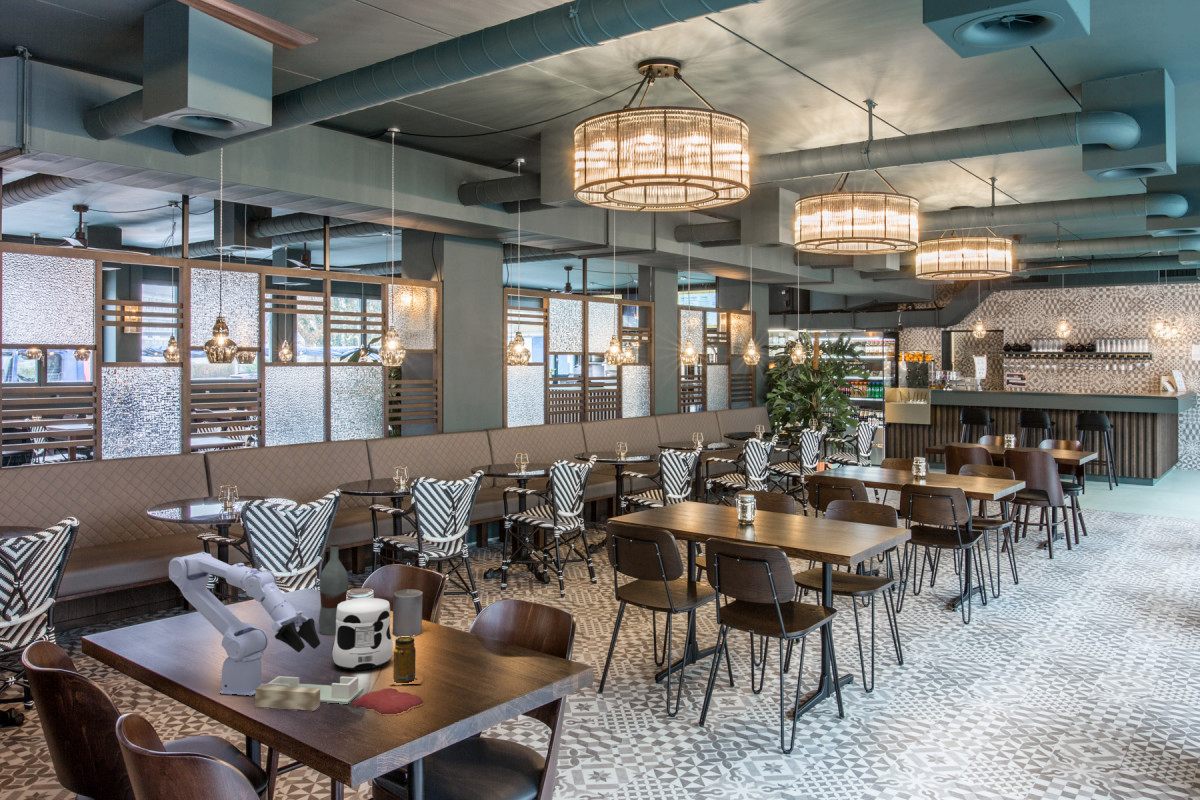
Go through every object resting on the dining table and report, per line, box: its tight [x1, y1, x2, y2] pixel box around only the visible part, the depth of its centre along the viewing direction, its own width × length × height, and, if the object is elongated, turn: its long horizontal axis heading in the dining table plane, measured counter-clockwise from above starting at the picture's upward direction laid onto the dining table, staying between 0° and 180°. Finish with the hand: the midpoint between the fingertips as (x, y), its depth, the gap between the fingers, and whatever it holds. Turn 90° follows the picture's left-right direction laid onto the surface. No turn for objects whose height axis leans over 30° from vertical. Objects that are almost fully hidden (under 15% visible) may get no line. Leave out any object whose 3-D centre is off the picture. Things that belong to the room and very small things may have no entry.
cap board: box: [299, 683, 365, 705], centre depth 214 cm, size 24×10×1 cm, turn 83°
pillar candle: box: [392, 588, 424, 637], centre depth 270 cm, size 10×10×15 cm
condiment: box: [392, 636, 417, 683], centre depth 225 cm, size 7×8×12 cm
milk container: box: [331, 597, 394, 671], centre depth 238 cm, size 17×17×18 cm
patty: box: [351, 687, 424, 714], centre depth 209 cm, size 18×14×2 cm
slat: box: [254, 685, 321, 712], centre depth 205 cm, size 16×3×5 cm, turn 83°
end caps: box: [266, 675, 359, 699], centre depth 214 cm, size 23×6×4 cm, turn 83°
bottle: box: [318, 542, 349, 636], centre depth 270 cm, size 9×9×30 cm
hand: (309, 647), depth 209 cm, fingers open, 7 cm apart
